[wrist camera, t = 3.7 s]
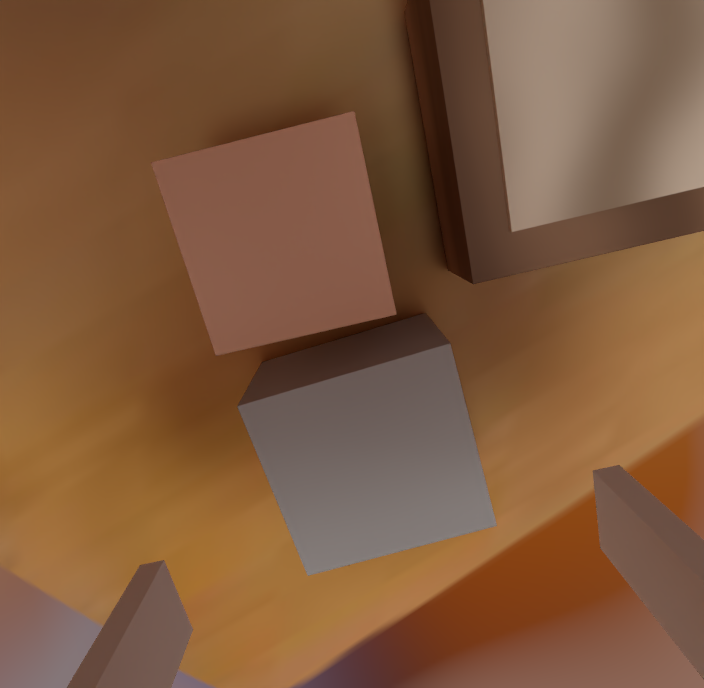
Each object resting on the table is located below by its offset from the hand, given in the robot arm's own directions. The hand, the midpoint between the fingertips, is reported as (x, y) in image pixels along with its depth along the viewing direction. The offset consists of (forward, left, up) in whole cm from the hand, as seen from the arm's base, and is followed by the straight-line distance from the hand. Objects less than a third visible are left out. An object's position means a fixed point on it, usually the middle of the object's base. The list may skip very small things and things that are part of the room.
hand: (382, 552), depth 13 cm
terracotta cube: (-1, +9, -9) cm, 13 cm away
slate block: (0, 0, -9) cm, 9 cm away
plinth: (+11, +11, -9) cm, 18 cm away
